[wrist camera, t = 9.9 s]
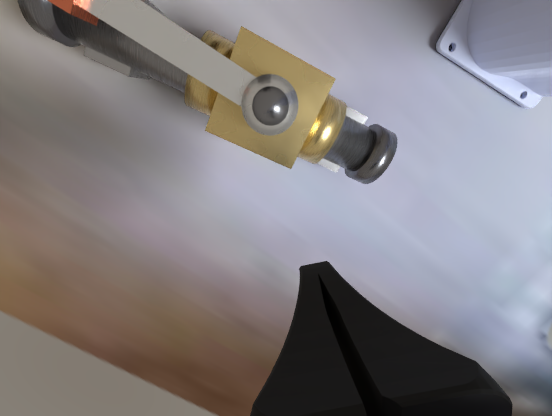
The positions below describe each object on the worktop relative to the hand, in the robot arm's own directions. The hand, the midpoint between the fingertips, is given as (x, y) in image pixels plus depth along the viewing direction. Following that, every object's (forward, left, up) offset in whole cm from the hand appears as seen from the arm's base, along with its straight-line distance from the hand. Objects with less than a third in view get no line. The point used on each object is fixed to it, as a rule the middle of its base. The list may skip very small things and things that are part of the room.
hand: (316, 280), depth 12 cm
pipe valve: (+7, -6, -10) cm, 14 cm away
